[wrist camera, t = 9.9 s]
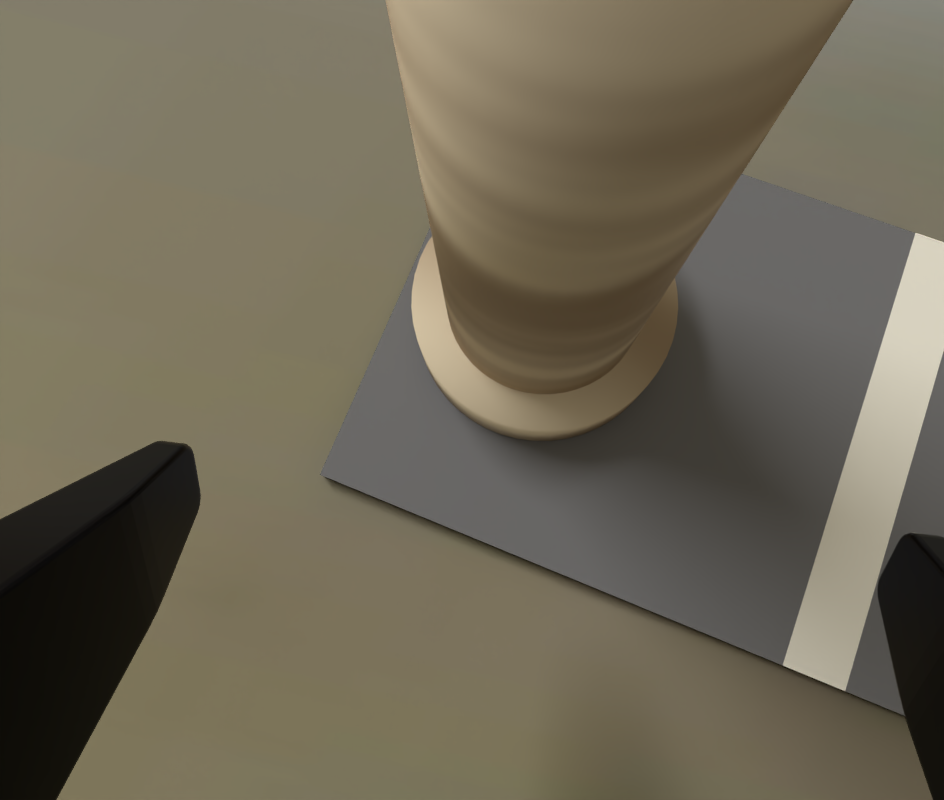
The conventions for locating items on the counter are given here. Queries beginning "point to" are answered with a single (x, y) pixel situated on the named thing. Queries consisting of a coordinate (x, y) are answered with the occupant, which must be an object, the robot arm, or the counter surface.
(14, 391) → the counter surface
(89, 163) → the counter surface
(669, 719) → the counter surface
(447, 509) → the mat
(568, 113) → the beech pin
